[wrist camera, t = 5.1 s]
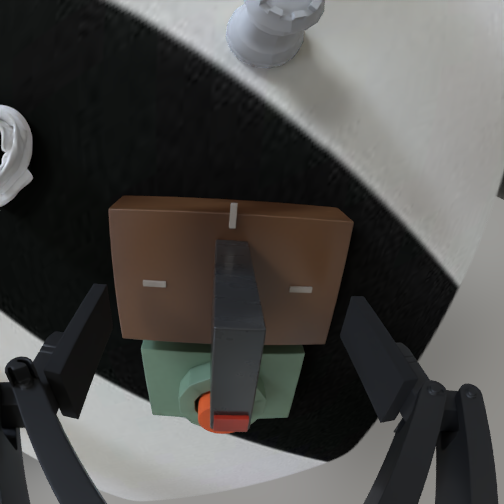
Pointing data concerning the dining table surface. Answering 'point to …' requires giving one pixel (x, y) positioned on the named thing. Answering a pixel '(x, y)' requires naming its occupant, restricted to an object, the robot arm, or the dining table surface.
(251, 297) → the red-tipped grey box
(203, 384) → the button block
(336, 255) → the panel
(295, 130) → the dining table surface
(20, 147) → the white folded cloth ring
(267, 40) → the rook chess piece
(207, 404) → the button
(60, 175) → the dining table surface
